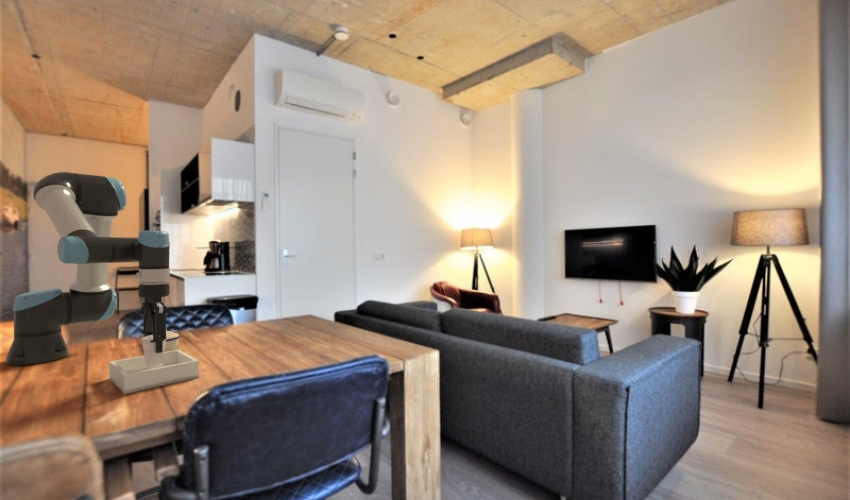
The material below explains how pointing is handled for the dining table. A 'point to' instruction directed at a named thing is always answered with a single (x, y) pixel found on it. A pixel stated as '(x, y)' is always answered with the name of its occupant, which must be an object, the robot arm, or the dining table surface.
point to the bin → (152, 371)
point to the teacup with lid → (171, 341)
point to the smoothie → (149, 352)
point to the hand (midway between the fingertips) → (154, 361)
